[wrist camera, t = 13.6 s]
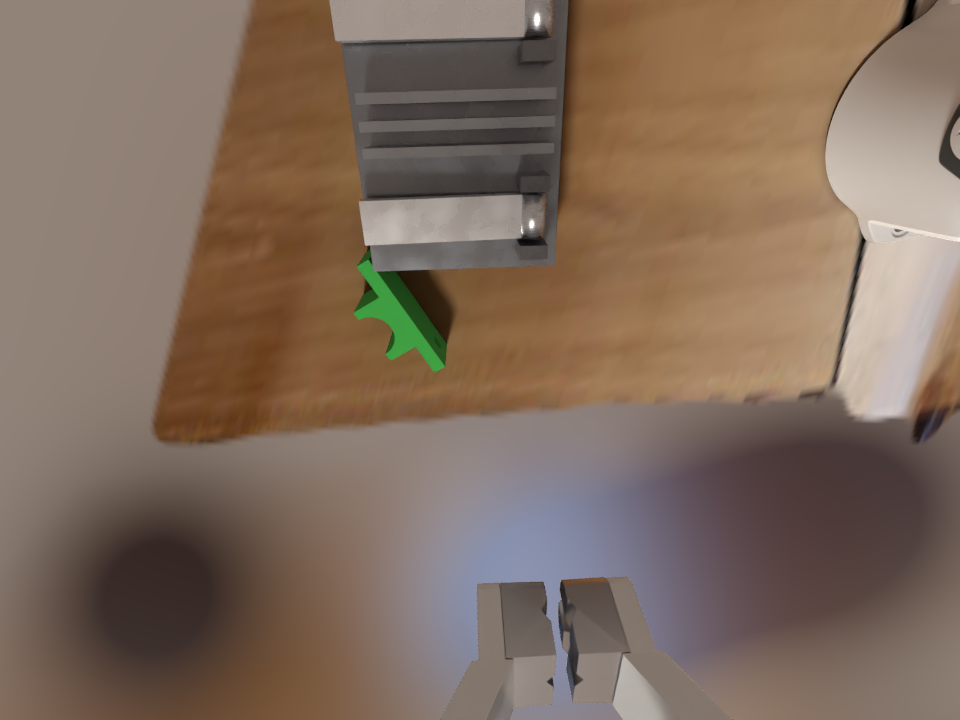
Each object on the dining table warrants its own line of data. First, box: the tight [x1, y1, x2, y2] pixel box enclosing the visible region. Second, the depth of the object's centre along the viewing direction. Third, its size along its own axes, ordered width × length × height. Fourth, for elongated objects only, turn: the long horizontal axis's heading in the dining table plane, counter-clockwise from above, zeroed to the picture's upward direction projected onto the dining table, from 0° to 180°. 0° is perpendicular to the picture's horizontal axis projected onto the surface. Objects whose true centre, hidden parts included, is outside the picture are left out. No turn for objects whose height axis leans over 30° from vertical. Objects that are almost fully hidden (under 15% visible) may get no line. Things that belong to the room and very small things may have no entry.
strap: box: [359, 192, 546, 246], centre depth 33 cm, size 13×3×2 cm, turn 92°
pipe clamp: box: [354, 250, 447, 372], centre depth 41 cm, size 11×4×5 cm, turn 30°
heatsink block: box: [341, 0, 568, 272], centre depth 32 cm, size 14×20×8 cm
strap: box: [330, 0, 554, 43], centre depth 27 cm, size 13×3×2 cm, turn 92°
